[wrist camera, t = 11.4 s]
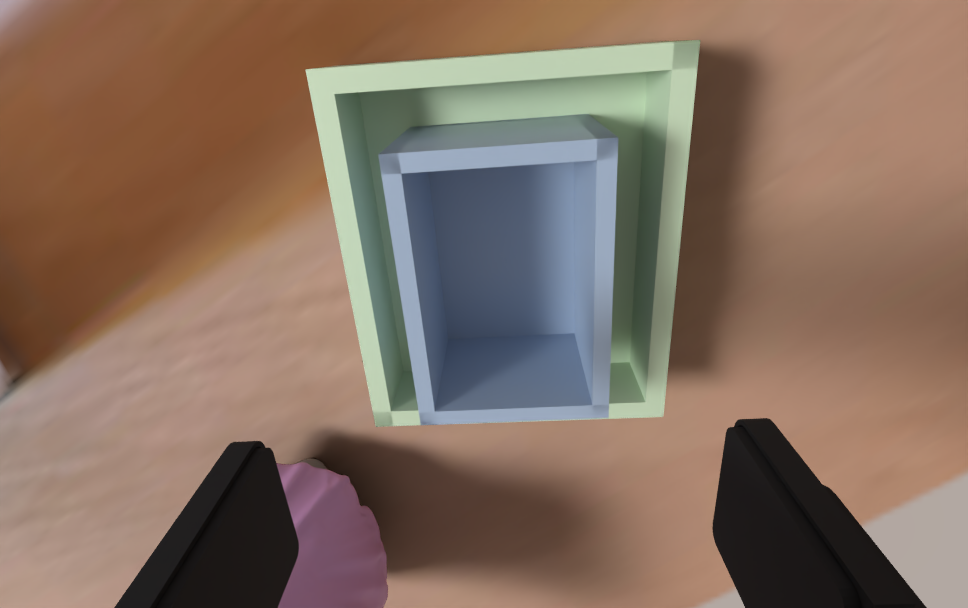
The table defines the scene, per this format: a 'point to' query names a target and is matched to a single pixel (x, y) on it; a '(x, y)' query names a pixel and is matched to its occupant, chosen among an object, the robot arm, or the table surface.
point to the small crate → (505, 266)
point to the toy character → (332, 542)
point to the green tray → (503, 96)
